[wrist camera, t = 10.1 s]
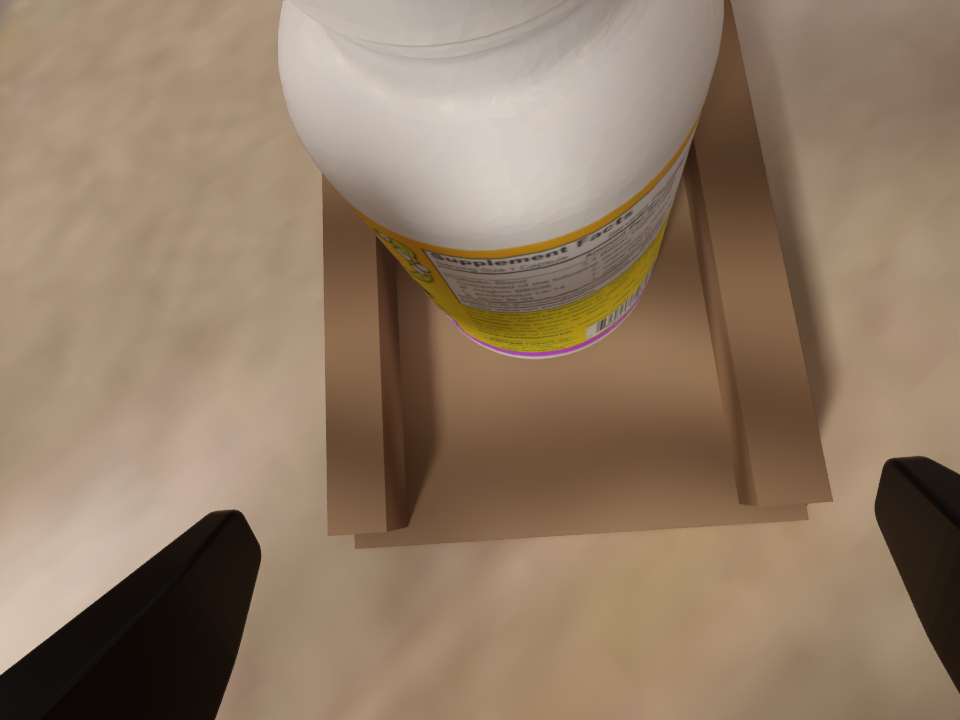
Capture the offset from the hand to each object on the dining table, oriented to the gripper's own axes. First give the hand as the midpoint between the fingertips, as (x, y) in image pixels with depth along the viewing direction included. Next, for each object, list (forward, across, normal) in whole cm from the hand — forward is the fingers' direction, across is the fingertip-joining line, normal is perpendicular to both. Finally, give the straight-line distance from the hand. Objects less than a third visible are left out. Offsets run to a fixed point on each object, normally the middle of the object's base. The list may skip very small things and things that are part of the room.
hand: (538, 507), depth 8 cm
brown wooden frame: (+11, 0, 0) cm, 11 cm away
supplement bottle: (+11, 0, +1) cm, 11 cm away
